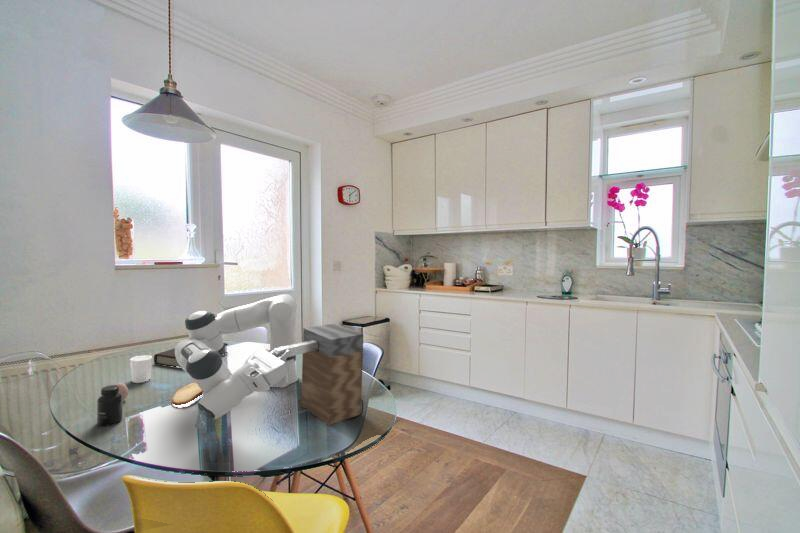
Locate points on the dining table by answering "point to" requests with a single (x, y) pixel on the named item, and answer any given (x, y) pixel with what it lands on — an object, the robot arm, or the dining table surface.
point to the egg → (123, 389)
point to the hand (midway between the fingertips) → (286, 349)
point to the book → (168, 358)
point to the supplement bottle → (109, 406)
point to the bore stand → (333, 373)
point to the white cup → (141, 368)
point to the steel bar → (298, 348)
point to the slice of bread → (187, 394)
